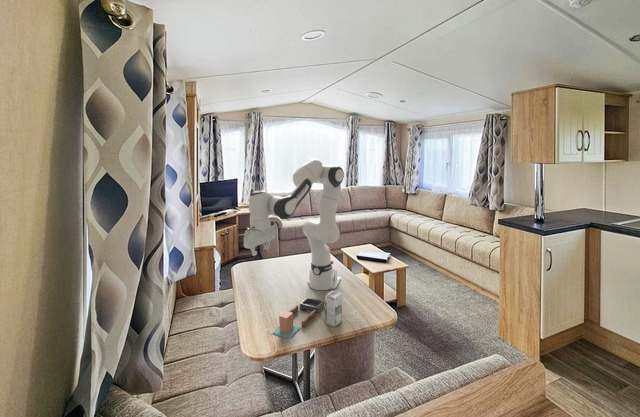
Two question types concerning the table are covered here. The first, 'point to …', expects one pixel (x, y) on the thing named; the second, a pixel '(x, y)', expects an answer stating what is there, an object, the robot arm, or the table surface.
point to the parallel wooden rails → (308, 318)
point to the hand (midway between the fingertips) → (260, 252)
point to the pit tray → (311, 304)
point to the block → (286, 322)
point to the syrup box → (333, 308)
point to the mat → (290, 334)
